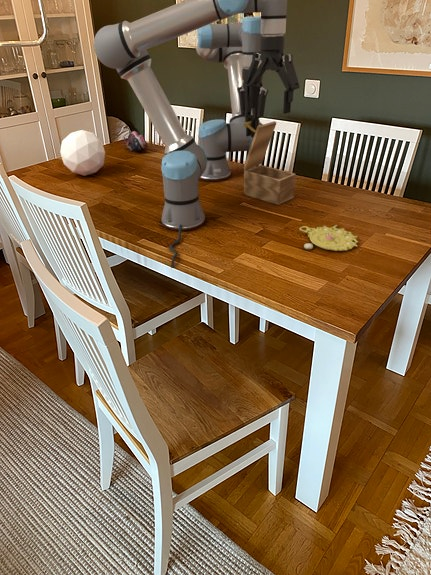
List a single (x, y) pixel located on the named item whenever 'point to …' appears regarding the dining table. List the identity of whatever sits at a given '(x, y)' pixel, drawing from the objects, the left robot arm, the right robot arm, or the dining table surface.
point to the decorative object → (330, 238)
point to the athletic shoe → (135, 142)
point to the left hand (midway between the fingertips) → (269, 110)
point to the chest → (269, 184)
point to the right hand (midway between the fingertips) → (251, 135)
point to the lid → (259, 143)
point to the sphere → (82, 152)
